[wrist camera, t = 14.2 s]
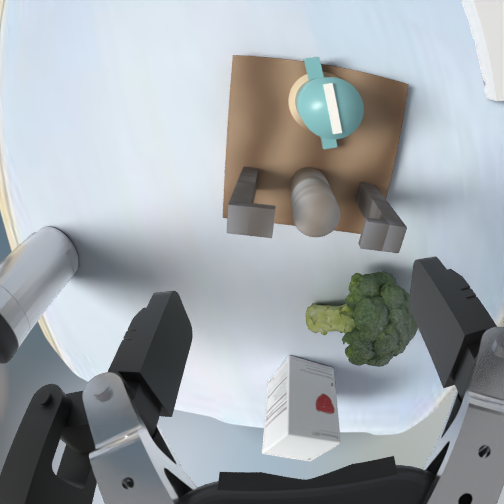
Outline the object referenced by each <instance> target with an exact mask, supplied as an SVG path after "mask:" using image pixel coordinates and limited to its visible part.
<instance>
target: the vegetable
mask: <svg viewBox="0 0 504 504" xmlns="http://www.w3.org/2000/svg"><path fill="white" fill-rule="evenodd" d="M349 291H350V294H349V295H348V296H347V297H346V304H344V305H342V306H330V305H326V306H323V305H316V304H313V303H312V305H311V306H310V307H308V308H307V311H306V323H307V326H308V329H309V330H311V331H312V332H314V333H317V332H321V333H322V334H323V335H326V334H327V332H328V331H340V333H343V332H344V333H346V334H345V335H344V337H343V338H342V341H343V344H344V343H345V342H347V343H348V344H349V346H348V347H347V348H346V349H345V354H346V356H347V357H348V358H349V359H348V360H349V362H351V363H352V364H355V365H358V366H359V365H363V364H368V365H372V366H378V367H380V366H384V365H386V364H388V362H389V361H390V360H391V359H392V358H393V356H397V355H398V354H400V353H403V351H404V349H405V348H406V347H405V346H407V345H408V343H409V341H410V340H411V339H413V337H414V336H415V334H416V331H417V329H418V326H417V324H416V322H415V320H414V317H413V315H412V313H411V309H410V302H409V297H410V295H409V294H408V293H406V291H404V289H401V288H400V287H399V286H397V285H396V281H395V278H393V277H392V275H391V274H388V273H386V272H377V273H372V274H364V275H361V274H359V273H355V274H354V275H353V276H352V278H351V282H350V285H349Z"/></svg>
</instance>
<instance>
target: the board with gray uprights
mask: <svg viewBox="0 0 504 504" xmlns="http://www.w3.org/2000/svg"><path fill="white" fill-rule="evenodd" d="M321 67H322V71H323V76H324V78H325V77H335V78H340V79H343V80H345V81H347V82H348V83H350V84H351V85H352V86H354V87H355V89H356V90H357V91H358V92H359V94H360V96H361V98H362V101H363V106H364V114H363V118H362V121H361V123H360V125H359V127H358V128H357V129H356V130H355V131H354V132H353V133H352V134H350V135H349V136H347V137H344V138H341V139H336V142H337V147H336V148H330V149H323V148H322V143H321V138H320V136H318V135H316V134H314V133H313V132H312V131H311V130H310V129H309V128H308V127H307V126H306V125H305V123H304V122H303V120H302V118H301V117H300V115H299V114H298V112H297V110H296V106H295V97H296V93H297V91H298V89H299V88H300V87H301V85H303V84H304V83H305V82H307V81H309V80H308V76H307V72H306V68H305V64H304V62H303V61H296V60H288V59H279V58H268V57H256V56H239V55H233V60H232V72H231V85H230V99H229V113H228V129H227V145H226V162H225V181H224V202H223V218H228V220H227V233H230V234H240V235H249V236H258V237H267V238H272V233H273V225H274V223H277V224H285V225H294V226H296V227H297V229H298V230H299V231H300V232H302V233H303V234H305V235H307V236H310V237H322V236H325V235H327V234H329V233H331V232H332V231H333V230H335V231H343V232H350V233H358V234H361V236H360V240H359V246H360V248H361V249H369V250H377V251H385V252H393V253H399V251H400V248H401V245H402V242H403V239H404V236H405V233H406V229H407V227H406V226H405V224H404V223H403V222H402V220H401V219H400V217H399V216H398V215H397V214H396V212H395V211H394V210H393V208H392V207H391V206H390V204H389V203H388V202H387V201H386V197H387V193H388V189H389V184H390V180H391V176H392V172H393V167H394V163H395V158H396V153H397V148H398V143H399V138H400V133H401V128H402V122H403V116H404V111H405V104H406V98H407V91H408V84H406V83H402V82H399V81H395V80H392V79H388V78H384V77H380V76H376V75H372V74H368V73H364V72H359V71H355V70H350V69H345V68H340V67H334V66H329V65H323V64H321Z"/></svg>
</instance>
